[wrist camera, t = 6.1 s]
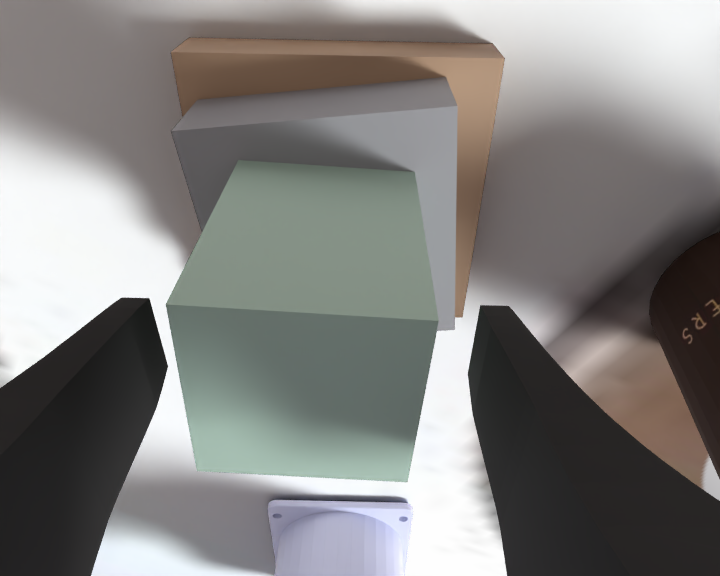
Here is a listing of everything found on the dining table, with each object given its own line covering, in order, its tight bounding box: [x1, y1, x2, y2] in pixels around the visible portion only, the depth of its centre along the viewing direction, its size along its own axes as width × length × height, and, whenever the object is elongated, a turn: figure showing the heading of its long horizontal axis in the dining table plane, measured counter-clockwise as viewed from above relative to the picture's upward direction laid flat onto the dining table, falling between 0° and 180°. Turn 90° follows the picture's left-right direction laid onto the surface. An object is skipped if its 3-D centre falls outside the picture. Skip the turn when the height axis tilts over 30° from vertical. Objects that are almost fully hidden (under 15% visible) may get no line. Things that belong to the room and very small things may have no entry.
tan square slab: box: [171, 38, 505, 317], centre depth 18 cm, size 9×9×2 cm
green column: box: [166, 160, 439, 482], centre depth 13 cm, size 4×4×6 cm
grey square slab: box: [171, 77, 458, 331], centre depth 16 cm, size 7×7×2 cm
